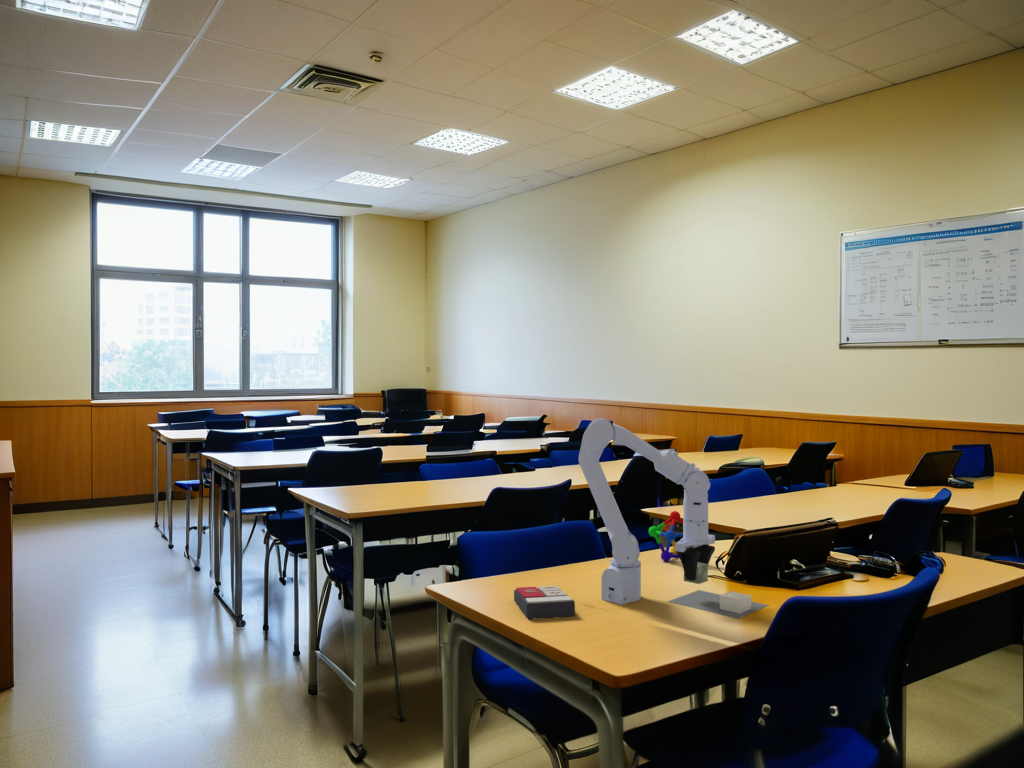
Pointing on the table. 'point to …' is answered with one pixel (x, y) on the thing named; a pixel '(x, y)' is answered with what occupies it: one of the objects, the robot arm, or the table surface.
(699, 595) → the base mat
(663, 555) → the educational toy
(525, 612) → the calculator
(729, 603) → the base brick
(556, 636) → the table surface
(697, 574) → the green cube
